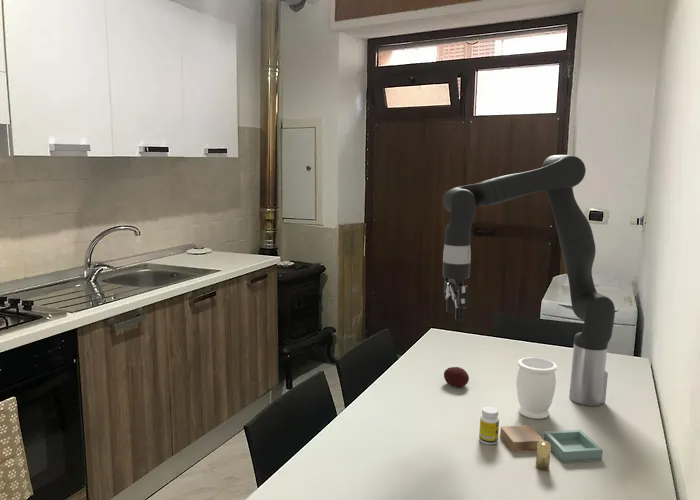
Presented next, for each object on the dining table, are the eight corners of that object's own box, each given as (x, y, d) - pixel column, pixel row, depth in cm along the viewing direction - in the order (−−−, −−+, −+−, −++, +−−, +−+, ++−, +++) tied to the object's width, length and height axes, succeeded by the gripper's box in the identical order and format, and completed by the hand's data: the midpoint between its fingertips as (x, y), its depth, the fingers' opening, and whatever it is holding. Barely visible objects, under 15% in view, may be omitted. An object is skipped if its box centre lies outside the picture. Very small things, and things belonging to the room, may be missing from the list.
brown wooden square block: (529, 435, 145) (529, 425, 145) (543, 451, 138) (544, 440, 137) (500, 437, 144) (500, 426, 144) (512, 453, 137) (513, 442, 136)
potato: (458, 379, 182) (459, 361, 181) (473, 388, 174) (474, 370, 173) (439, 382, 179) (440, 365, 178) (454, 392, 171) (455, 374, 170)
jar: (533, 424, 151) (537, 372, 149) (506, 409, 160) (510, 360, 158) (561, 416, 156) (565, 366, 153) (533, 402, 165) (537, 354, 163)
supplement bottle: (498, 446, 139) (500, 415, 138) (479, 444, 140) (481, 412, 139) (497, 437, 144) (499, 406, 142) (478, 434, 145) (480, 404, 143)
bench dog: (545, 463, 131) (547, 440, 130) (551, 470, 128) (553, 446, 127) (533, 464, 131) (535, 440, 130) (539, 471, 128) (541, 447, 127)
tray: (579, 439, 143) (580, 429, 143) (601, 460, 133) (602, 449, 133) (543, 441, 142) (544, 431, 141) (563, 462, 132) (563, 451, 131)
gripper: (478, 265, 147) (475, 323, 149) (461, 255, 161) (459, 309, 163) (451, 265, 146) (449, 324, 149) (436, 256, 160) (434, 310, 163)
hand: (454, 316), depth 156 cm, fingers open, 8 cm apart
